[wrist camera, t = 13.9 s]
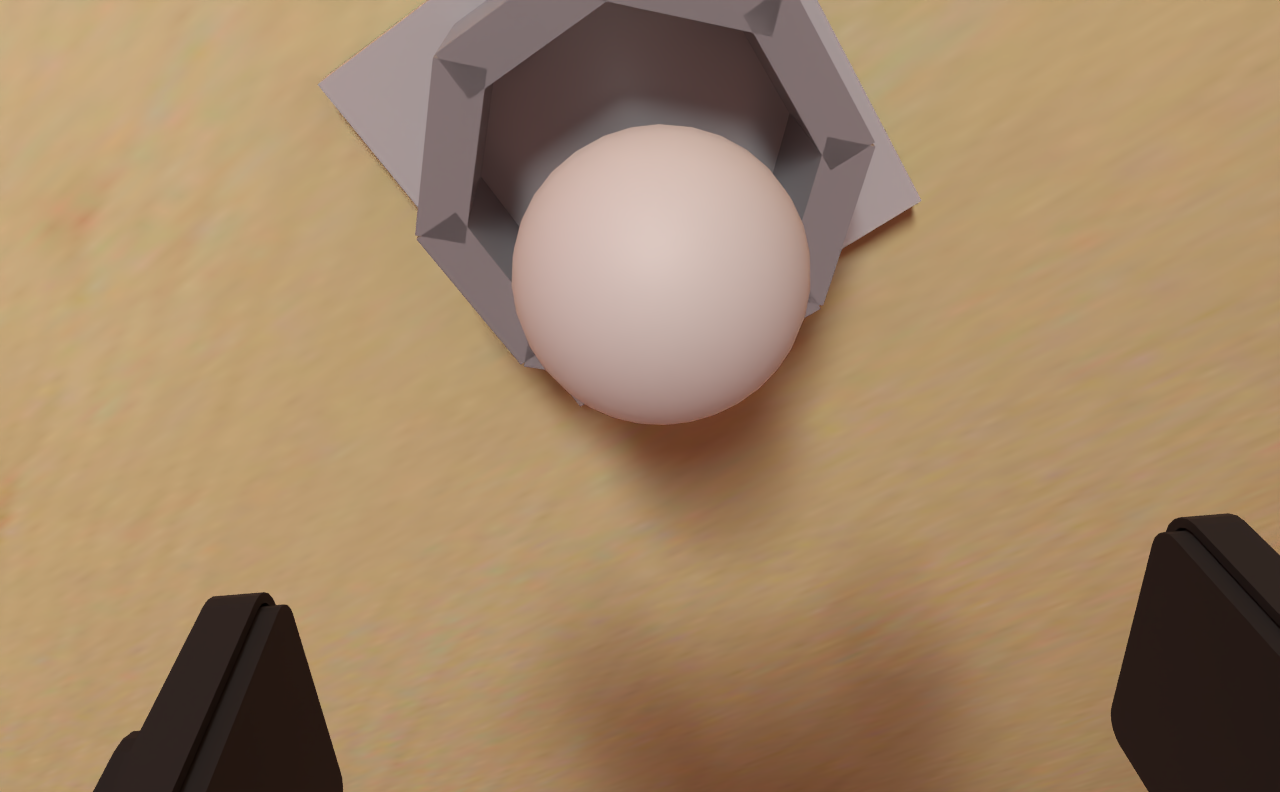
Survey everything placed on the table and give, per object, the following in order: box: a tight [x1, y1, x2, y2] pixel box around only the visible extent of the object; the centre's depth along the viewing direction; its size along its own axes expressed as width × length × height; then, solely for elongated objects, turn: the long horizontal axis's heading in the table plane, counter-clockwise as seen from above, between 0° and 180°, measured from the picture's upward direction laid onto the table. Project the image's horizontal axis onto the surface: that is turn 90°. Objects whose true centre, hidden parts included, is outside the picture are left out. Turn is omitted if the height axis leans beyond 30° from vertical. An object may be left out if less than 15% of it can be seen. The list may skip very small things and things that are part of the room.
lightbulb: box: [512, 124, 810, 425], centre depth 22 cm, size 6×6×11 cm
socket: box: [318, 0, 921, 407], centre depth 25 cm, size 12×12×5 cm
